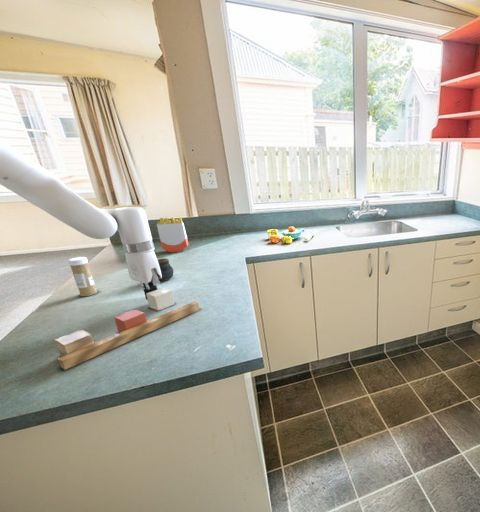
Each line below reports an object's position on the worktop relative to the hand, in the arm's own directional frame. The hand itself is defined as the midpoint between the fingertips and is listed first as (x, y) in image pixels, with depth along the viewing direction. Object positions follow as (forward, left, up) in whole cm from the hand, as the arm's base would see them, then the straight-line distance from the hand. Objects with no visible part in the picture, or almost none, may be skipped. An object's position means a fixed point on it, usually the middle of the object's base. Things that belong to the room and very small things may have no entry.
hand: (153, 298), depth 99 cm
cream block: (0, -5, -2) cm, 5 cm away
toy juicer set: (+85, +15, -2) cm, 86 cm away
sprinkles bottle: (-6, +28, -2) cm, 28 cm away
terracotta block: (-12, -14, -2) cm, 18 cm away
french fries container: (+40, +54, -2) cm, 67 cm away
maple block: (-24, -14, -2) cm, 28 cm away
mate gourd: (+14, +19, -2) cm, 23 cm away
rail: (-12, -17, -2) cm, 22 cm away
